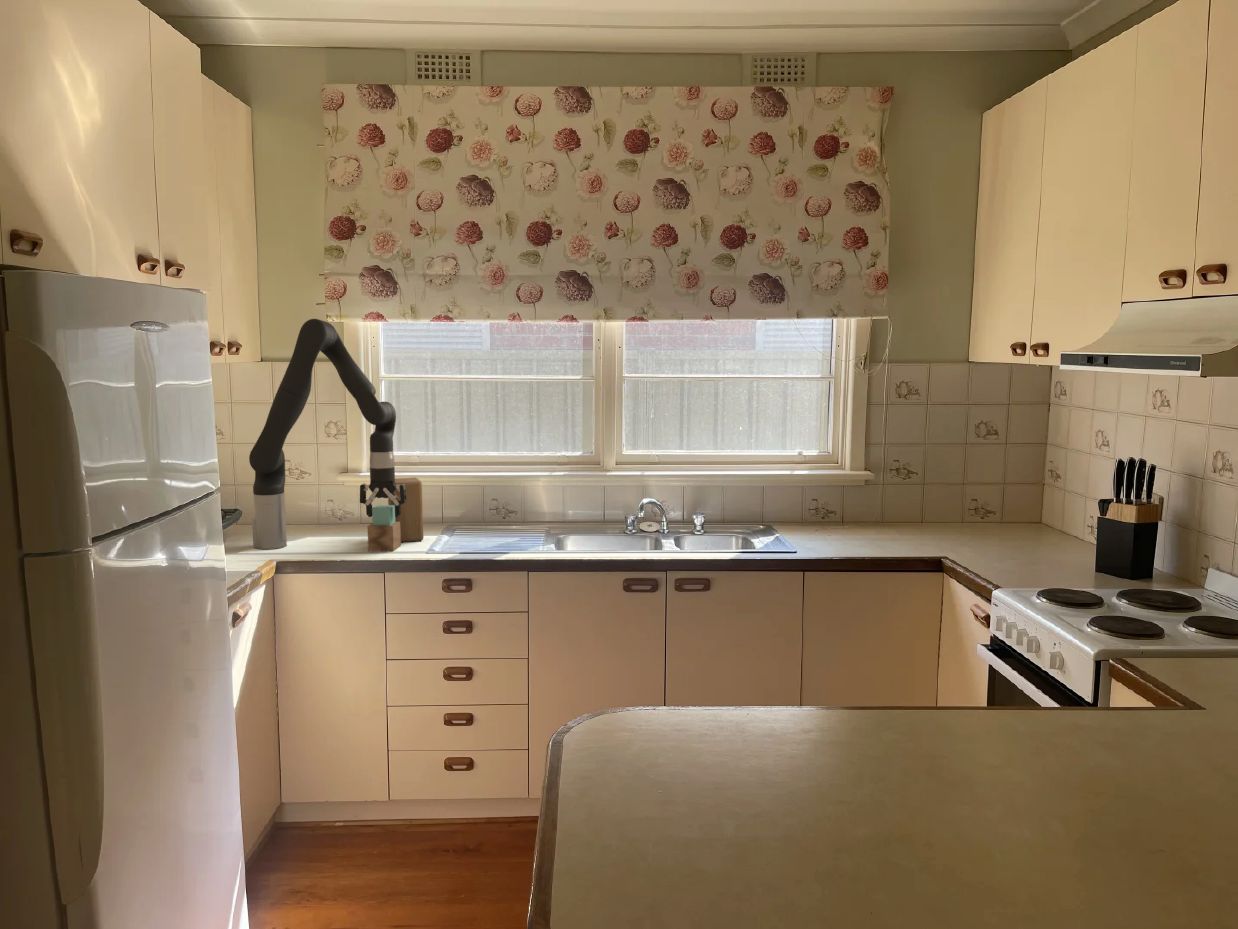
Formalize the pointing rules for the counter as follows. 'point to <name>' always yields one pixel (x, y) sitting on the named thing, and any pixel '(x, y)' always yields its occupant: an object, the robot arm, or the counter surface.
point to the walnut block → (384, 537)
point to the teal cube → (383, 515)
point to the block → (410, 510)
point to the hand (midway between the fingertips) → (383, 516)
